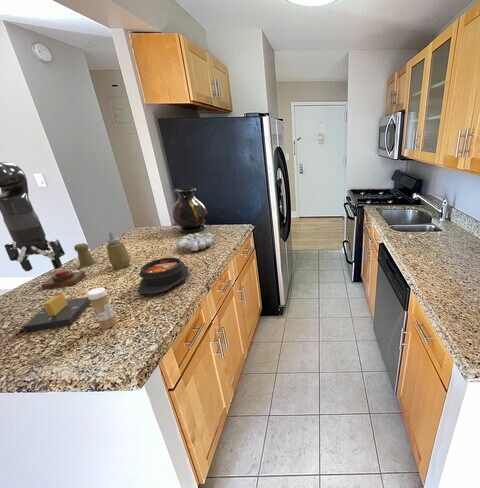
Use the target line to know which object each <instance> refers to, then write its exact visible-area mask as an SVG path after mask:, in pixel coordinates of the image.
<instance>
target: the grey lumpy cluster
mask: <svg viewBox="0 0 480 488" xmlns="http://www.w3.org/2000/svg"><path fill="white" fill-rule="evenodd" d="M214 240H215V236H214V235H213V234H211V232H205V233H204V234H200V233H199V232H195V233H187V235H184V236H182V237H181V239H180V240H179V241H177V242H176V244H175V247H176V248H177V249H179V250H182V251H184V250H186V249H188V250H190V251H192V252H197V251H200V250H205V249H206V248H208V247H211V246H212V244H213V241H214Z"/></svg>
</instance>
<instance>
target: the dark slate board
mask: <svg viewBox="0 0 480 488" xmlns="http://www.w3.org/2000/svg"><path fill="white" fill-rule="evenodd" d="M65 300H66V302H67V304H68V305H67V306H66V307H64V308H63V309H62V310H61V311H60V312H59V313H57V314H56V315H55V316H49V315H48V313H47V311H46V309H45V307H44V306H43V308H42V309H40V310H39V312H37V313H36V314H35V315H34V316H33V317H32V318H31V319H30V320H28V321H27V322H26V323H25V324H24V325H23V326H22V329H23V330H24V332H25V334H29V333H33V332H40V331H45V330H50V329H56V328H57V329H58V328H63V327H69V326H72V325H73V324H74V323H75V322H76V321H77V319H78V318H79V317H80V316H81V315H82V314H83V312H84V311H85V310H86V309H87V308H88V307H89V306H90V304H91V302H90V300H89V299H88V296H85V297H79V298H78V297H77V298H71V299H65Z"/></svg>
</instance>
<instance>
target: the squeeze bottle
mask: <svg viewBox="0 0 480 488" xmlns="http://www.w3.org/2000/svg"><path fill="white" fill-rule="evenodd" d="M108 235H109V236H108V237H109V238H108V239H107V241H106V242H107V245H106V251H107V257H108V260H109V264H110V265H111V266H112V267H113V268H114V269H117V270H119V269H123V268H124V269H125V268H127V267H129V266H130V261H131V257H130V255H129V253H128V250H127V248H126V246H125V243H124V242H123V241H121V240H120V238H119V237H116V235H115V234H114V232H113V231H109V232H108Z"/></svg>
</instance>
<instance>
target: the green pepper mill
mask: <svg viewBox="0 0 480 488" xmlns="http://www.w3.org/2000/svg"><path fill="white" fill-rule="evenodd" d="M89 248H90V247H89V244H88V243H86V242H82V243H78V244H75V245H74V246H73V249H74V250H75V252H76V253H77V258H78V261H79V262H78V263H79V267H81V268H86V267H90V266H91V267H92V266H94V265H96V264H97V262H96V260H95V259H94V257H93V255H92V253H91V252H90V250H89Z"/></svg>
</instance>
